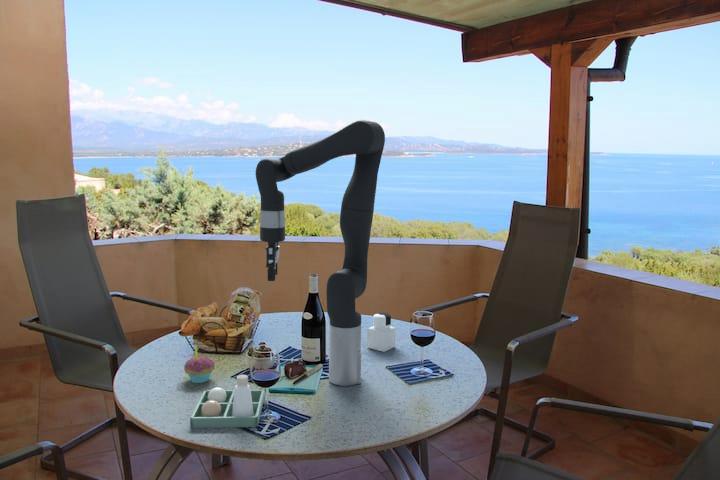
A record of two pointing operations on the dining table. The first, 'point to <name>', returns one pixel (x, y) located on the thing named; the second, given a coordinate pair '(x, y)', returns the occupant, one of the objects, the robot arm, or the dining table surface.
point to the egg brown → (211, 409)
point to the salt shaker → (242, 398)
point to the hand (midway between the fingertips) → (272, 277)
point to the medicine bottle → (381, 333)
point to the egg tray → (228, 412)
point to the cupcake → (199, 368)
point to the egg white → (217, 395)
